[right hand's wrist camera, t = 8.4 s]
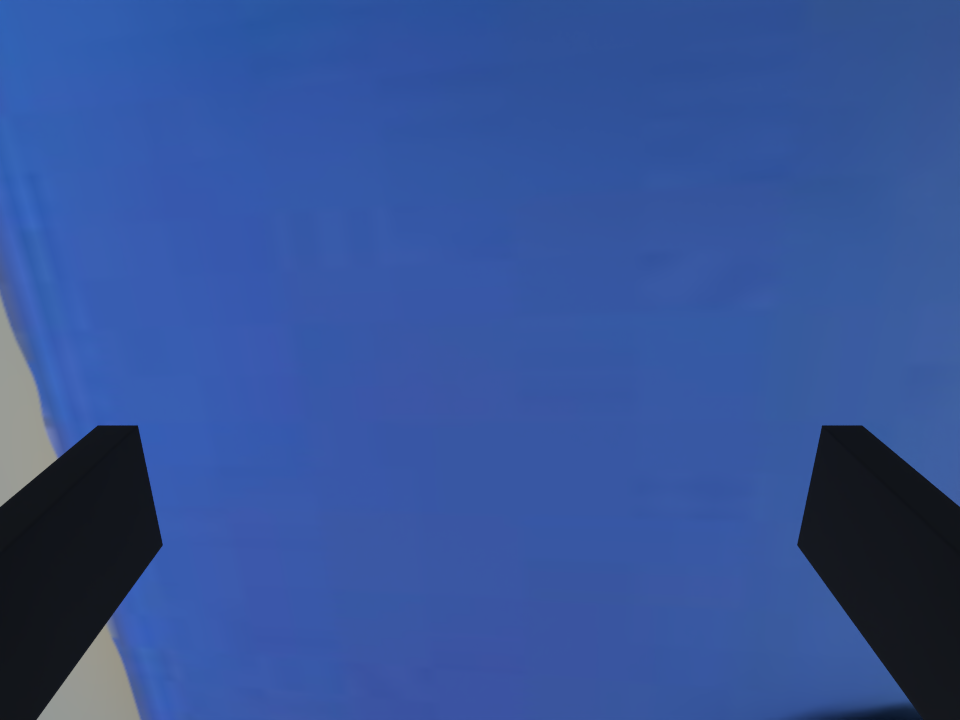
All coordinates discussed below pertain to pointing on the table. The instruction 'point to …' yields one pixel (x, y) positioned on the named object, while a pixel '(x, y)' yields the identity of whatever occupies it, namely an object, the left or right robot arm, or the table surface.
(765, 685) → the table surface
